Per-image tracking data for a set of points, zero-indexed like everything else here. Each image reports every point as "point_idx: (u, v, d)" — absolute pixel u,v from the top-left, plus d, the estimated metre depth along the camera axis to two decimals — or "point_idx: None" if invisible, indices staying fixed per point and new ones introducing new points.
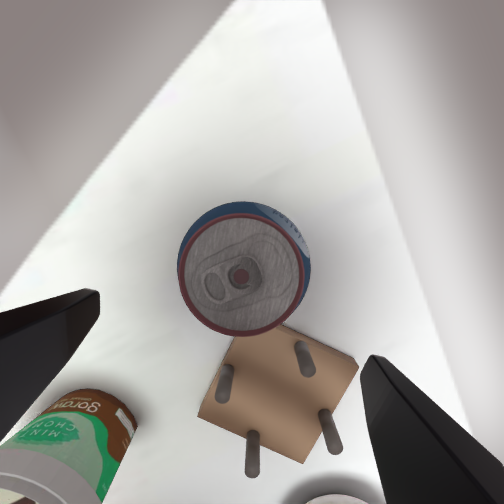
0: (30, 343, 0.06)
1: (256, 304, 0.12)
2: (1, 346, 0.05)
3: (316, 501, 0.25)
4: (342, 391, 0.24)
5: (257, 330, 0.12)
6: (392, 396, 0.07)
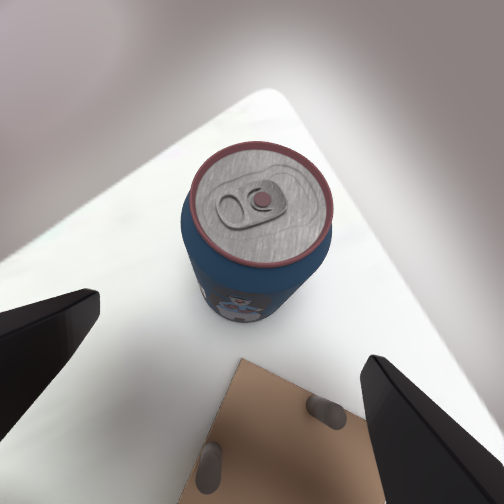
0: (30, 343, 0.06)
1: (281, 232, 0.10)
2: (1, 346, 0.05)
3: None
4: None
5: (285, 260, 0.10)
6: (392, 396, 0.07)
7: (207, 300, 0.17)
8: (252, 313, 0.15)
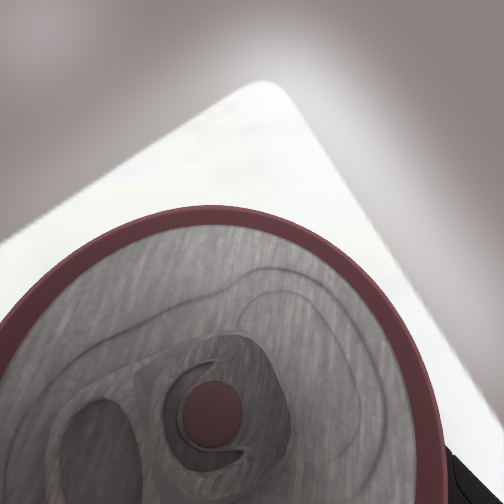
0: None
1: None
2: None
3: None
4: None
5: None
6: None
7: None
8: None
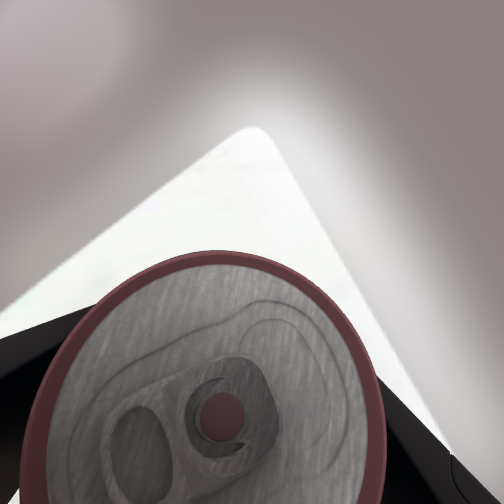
0: None
1: None
2: (50, 357, 0.05)
3: None
4: None
5: None
6: None
7: None
8: None
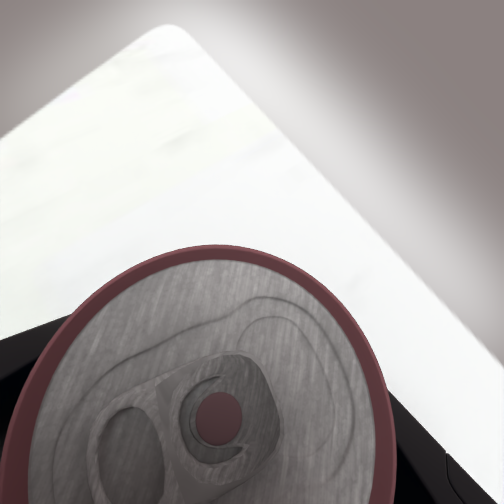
0: None
1: None
2: None
3: None
4: None
5: None
6: None
7: None
8: None
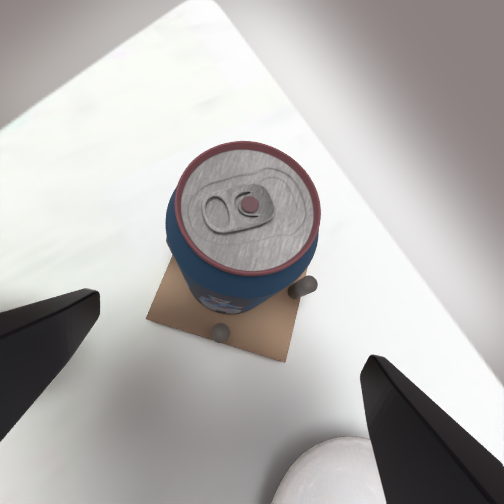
0: (30, 343, 0.06)
1: (265, 240, 0.10)
2: (1, 346, 0.05)
3: None
4: None
5: (265, 270, 0.10)
6: (392, 396, 0.07)
7: (190, 290, 0.18)
8: (233, 309, 0.16)
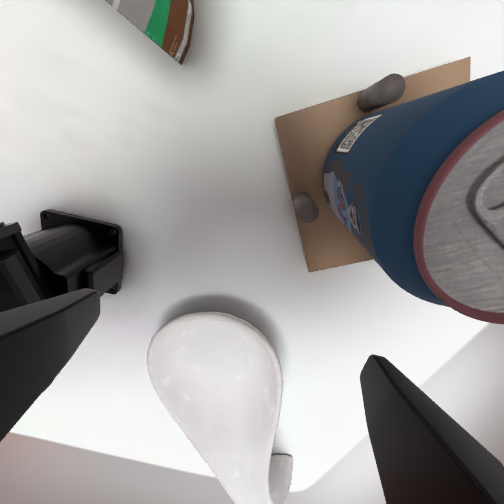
0: (30, 343, 0.06)
1: (483, 265, 0.07)
2: (1, 346, 0.05)
3: None
4: None
5: (438, 287, 0.07)
6: (392, 396, 0.07)
7: (334, 152, 0.14)
8: (341, 218, 0.13)
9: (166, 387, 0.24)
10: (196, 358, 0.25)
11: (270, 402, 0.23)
